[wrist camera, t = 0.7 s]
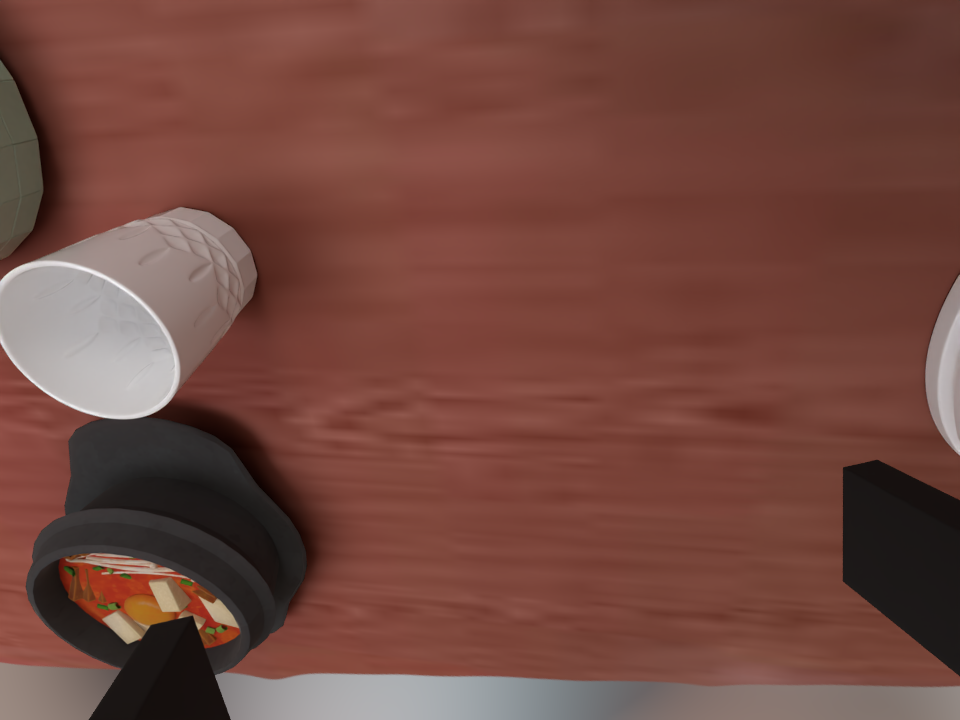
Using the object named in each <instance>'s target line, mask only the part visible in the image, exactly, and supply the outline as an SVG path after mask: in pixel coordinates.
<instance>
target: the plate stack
mask: <svg viewBox="0 0 960 720" xmlns="http://www.w3.org/2000/svg"><path fill="white" fill-rule="evenodd" d="M925 386H926V395H927V401H928V405H929V409H930V412H931V415H932V418H933V420H934V422H935V425H936V426H937V428H938V430H939V432H940V433H941V435H942V436H943V438H944V439H945V440H946V442H947V443H948V444H949V445H950V446H951V447H952V449H953V450H954V451H955V452H956V453H957V454H959V455H960V274H959V276H958V278H957V279H956V281H955V283H954V285H953V286H952V288H951V290H950V292H949V294H948V296H947V298H946V300H945V302H944V304H943V306H942V309H941V311H940V313H939V316H938V318H937V321H936V324H935V327H934V330H933V333H932V336H931V340H930V344H929V348H928V354H927V360H926V370H925Z"/></svg>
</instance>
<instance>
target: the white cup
mask: <svg viewBox="0 0 960 720" xmlns="http://www.w3.org/2000/svg"><path fill="white" fill-rule="evenodd" d="M256 280H257V271H256V267H255V264H254V260H253V257H252V253H251V250H250V249H249V248H248V246H247V245H246V244H245V242H244V241H243V240H242V239H241V237H240V236H239V235H238V233H237V232H236V231H235V229H234V228H233V227H231V226H229V225H228V224H226V223H225V222H223V221H222V220H220V219H218V218H217V217H215V216H214V215H212V214H210V213H209V212H205V211H200V210H194V209H189V208H184V207H179V208H175V209H172V210H169V211H165V212H162V213H158V214H156V215H153V216H151V217H148V218H146V219H142V220H141V219H139V220H135V221H133V222H130V223H128V224H125V225H123V226H119V227H116V228H114V229H111V230H109V231H107V232H104V233H101V234H97V235H94V236H92V237H90V238H87V239H85V240H82V241H80V242H78V243H75V244H73V245H70V246H68V247H65V248H63V249H61V250H58V251H56V252H53V253H51V254H48V255H46V256H44V257H41V258H39V259H36V260H34V261H31V262H29V263H26V264H24V265H21V266H19V267H17V268H15V269H13V270H12V271H10V272H9V273H8V274H7V275H6V276H5V277H4V278H3V279H2V280H1V281H0V343H1V345H2V347H3V349H4V350H5V352H6V353H7V355H8V356H9V358H10V359H11V361H12V362H13V363H14V364H15V366H16V367H17V368H18V369H19V370H20V371H21V372H22V373H23V374H24V375H25V376H26V377H27V378H28V379H29V380H30V381H31V382H32V383H33V384H35V385H36V386H37V387H38V388H40V389H41V390H42V391H44V392H45V393H46V394H48V395H49V396H51V397H53V398H54V399H56V400H58V401H59V402H61V403H63V404H65V405H67V406H69V407H71V408H74V409H76V410H79V411H81V412H84V413H87V414H90V415H94V416H98V417H103V418H109V419H135V418H141V417H145V416H148V415H151V414H153V413H155V412H157V411H159V410H160V409H162V408H163V407H164V406H166V405H167V404H168V403H169V402H170V400H171V399H172V398H173V397H174V396H175V394H176V393H177V392H178V391H179V390H180V388H181V387H182V386H183V385H184V383H185V382H186V381H187V380H188V379H189V377H190V376H191V375H192V374H193V373H194V372H195V370H196V369H197V368H198V367H199V366H200V364H201V363H202V362H203V361H204V360H205V358H206V357H207V356H208V355H209V354H210V353H211V351H212V350H213V349H214V347H215V346H216V345H217V343H218V342H219V341H220V339H221V338H222V337H223V336H224V335H225V333H226V332H227V331H228V329H229V328H230V327H231V325H232V323H233V322H234V320H235V318H236V316H237V315H238V314H239V312H240V311H241V310H242V309H243V308H244V307H245V305H246V304H247V303H248V302H249V301H250V300H251V298H252V297H253V294H254V289H255V284H256Z"/></svg>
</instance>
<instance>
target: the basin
mask: <svg viewBox="0 0 960 720" xmlns="http://www.w3.org/2000/svg"><path fill="white" fill-rule="evenodd" d="M37 138H38V137H37V135H36V132H35V130H34V127H33V125H32V122H31V120H30V118H29V115H28V113H27V110H26V108H25V105H24V103H23V100H22V98H21V95H20V93H19V90H18V88H17V85H16V83H15V81H14V80H13V78H12V76H11V75H10V73H9V72H8V70H7V69H6V67H5V66H4V64H3V63H2V61H1V60H0V260H1V259H4V258H6V257H8V256H10V255H11V253H12V252H13V251H14V250H15V249H16V248H17V247H18V246H19V245H20V244H21V242H22V241H23V240H24V239H25V238H26V237H27V236H28V235H29V234H30V233H31V231H32V230H33V228H34V225H35V221H36V217H37V214H38V210H39V206H40V202H41V198H42V195H43V189H44V187H43V178H42V169H41V161H40V152H39V143H38V139H37Z"/></svg>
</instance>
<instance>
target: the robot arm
mask: <svg viewBox="0 0 960 720" xmlns="http://www.w3.org/2000/svg"><path fill="white" fill-rule="evenodd" d="M843 582H845V583H846V584H847V585H848V586H849V587H851V588H852V589H853V590H854V591H856V592H857V593H858V594H859V595H861V596H862V597H863V598H864V599H865V600H867V601H868V602H869V603H870V604H872V605H873V606H874V607H875V608H877V609H878V610H879V611H880V612H881V613H883V614H884V615H885V616H886V617H888V618H889V619H890V620H891V621H893V622H894V623H895V624H896V625H897V626H899V627H900V628H901V629H902V630H904V631H905V632H906V633H907V634H909V635H910V636H911V637H912V638H913V639H915V640H916V641H917V642H918V643H920V644H921V645H922V646H923V647H924V648H926V649H927V650H928V651H929V652H931V653H932V654H933V655H934V656H936V657H937V658H938V659H939V660H940V661H942V662H943V663H944V664H945V665H947V666H948V667H949V668H950V669H952V670H953V671H954V672H955V673H956V674H958V675H959V676H960V500H958V499H956V498H954V497H952V496H950V495H948V494H946V493H944V492H942V491H940V490H938V489H936V488H933V487H931V486H929V485H927V484H925V483H923V482H921V481H919V480H917V479H915V478H913V477H911V476H909V475H907V474H905V473H903V472H901V471H899V470H897V469H895V468H893V467H891V466H889V465H887V464H885V463H883V462H881V461H879V460H874V461H870V462H865V463H861V464H857V465H852V466H848V467H843ZM89 720H231V719H230V716H229V714H228V711H227V708H226V705H225V703H224V700H223V697H222V694H221V692H220V689H219V686H218V683H217V681H216V678H215V675H214V672H213V669H212V667H211V664H210V661H209V658H208V656H207V653H206V650H205V647H204V645H203V642H202V639H201V636H200V634H199V631H198V628H197V625H196V623H195V620H194V617H193V615H192V616H188V617H183V618H179V619H174V620H170V621H166V622H161V623H157V624H152V625H150V627H149V628H148V630H147V631H146V633H145V634H144V636H143V637H142V639H141V640H140V642H139V644H138V645H137V647H136V648H135V650H134V651H133V653H132V654H131V656H130V657H129V659H128V660H127V662H126V663H125V665H124V667H123V668H122V670H121V671H120V673H119V674H118V676H117V677H116V679H115V680H114V682H113V683H112V685H111V687H110V688H109V689H108V691H107V693H106V694H105V696H104V697H103V699H102V700H101V702H100V703H99V705H98V707H97V708H96V709H95V711H94V712H93V714H92V716H91V717H90V719H89Z"/></svg>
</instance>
